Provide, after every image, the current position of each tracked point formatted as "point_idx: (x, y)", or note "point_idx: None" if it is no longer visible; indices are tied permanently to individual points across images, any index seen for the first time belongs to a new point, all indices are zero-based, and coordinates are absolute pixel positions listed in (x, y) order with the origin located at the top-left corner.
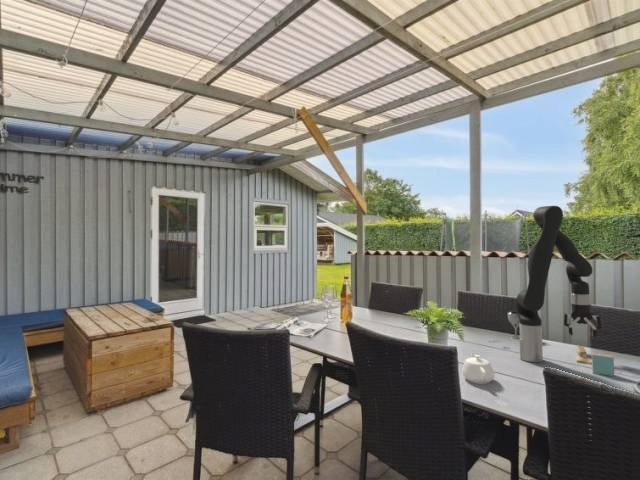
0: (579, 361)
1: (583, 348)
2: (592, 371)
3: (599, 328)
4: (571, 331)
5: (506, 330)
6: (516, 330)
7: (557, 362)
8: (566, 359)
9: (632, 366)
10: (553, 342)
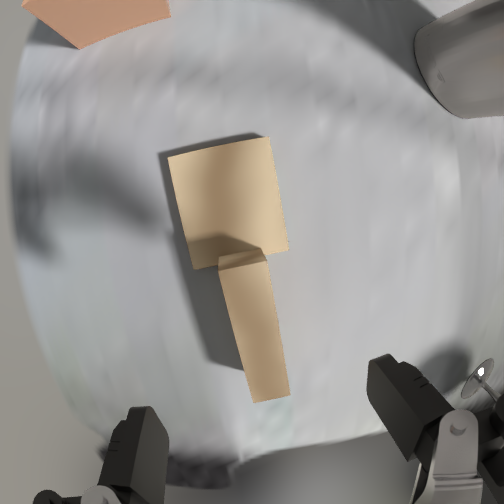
0: (250, 139)
1: (249, 358)
2: (169, 7)
3: (51, 494)
4: (405, 384)
5: None
6: (493, 394)
7: (359, 68)
8: (329, 163)
9: (25, 276)
10: (375, 428)
